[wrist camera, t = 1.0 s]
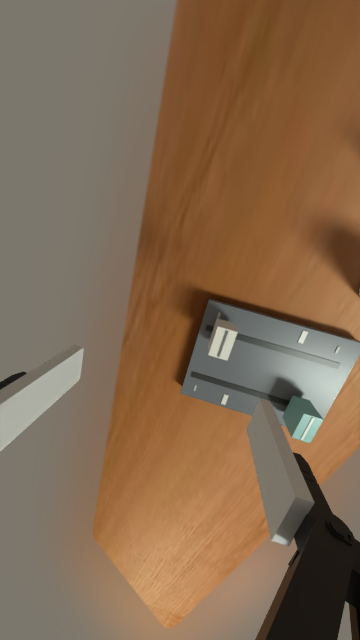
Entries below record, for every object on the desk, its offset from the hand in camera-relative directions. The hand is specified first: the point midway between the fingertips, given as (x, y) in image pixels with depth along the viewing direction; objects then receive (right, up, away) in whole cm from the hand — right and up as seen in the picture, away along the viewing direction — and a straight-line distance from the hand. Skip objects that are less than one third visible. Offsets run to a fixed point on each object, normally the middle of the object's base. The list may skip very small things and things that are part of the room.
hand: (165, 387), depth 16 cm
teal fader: (+18, -8, +17) cm, 26 cm away
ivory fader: (+7, +3, +16) cm, 17 cm away
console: (+14, -2, +19) cm, 23 cm away
